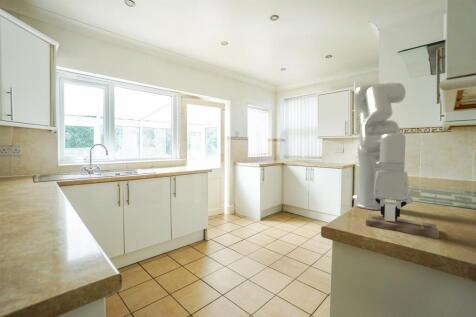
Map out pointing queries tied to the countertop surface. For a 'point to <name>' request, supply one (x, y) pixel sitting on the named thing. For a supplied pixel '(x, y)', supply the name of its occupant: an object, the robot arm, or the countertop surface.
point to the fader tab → (390, 211)
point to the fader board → (404, 226)
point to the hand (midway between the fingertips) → (390, 217)
